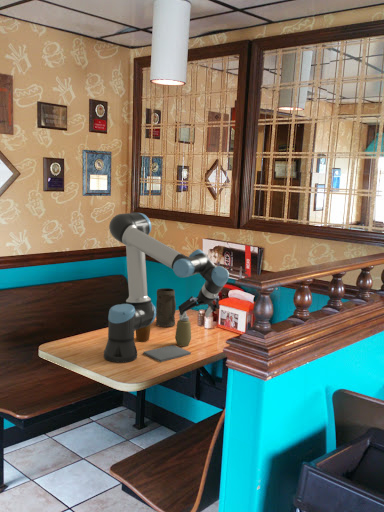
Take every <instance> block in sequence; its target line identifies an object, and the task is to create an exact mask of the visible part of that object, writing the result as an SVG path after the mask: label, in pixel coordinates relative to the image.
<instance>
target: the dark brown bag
mask: <svg viewBox="0 0 384 512" xmlns="http://www.w3.org/2000/svg"><path fill="white" fill-rule="evenodd" d="M175 294H176V292H175V289H173V288H168V287H165V288H164V287H162V288H158V289H156V303H155V304H156V306H155V308H156V317H155V320H156V321H155V325H156V326H158V327H162V328H163V327H164V328H165V327H166V328H168V327H174V326H175V325H176V318H175V314H176V308H177V306H176V305H177V303H176V295H175Z"/></svg>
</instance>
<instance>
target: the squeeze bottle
mask: <svg viewBox="0 0 384 512" xmlns="http://www.w3.org/2000/svg"><path fill="white" fill-rule="evenodd" d="M191 327H192V325H191V321H190V317H189V316H188V315H187V313H186V314H185V315H184V317H183V318H182V319H181V320H180V317H179V319H178V320H177V323H176V329H175V335H174V339H175V343H176V346H178V347H179V346H180V347H187V346H189V345H190V343H191V340H192V328H191Z"/></svg>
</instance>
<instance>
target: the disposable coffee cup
mask: <svg viewBox="0 0 384 512" xmlns="http://www.w3.org/2000/svg"><path fill="white" fill-rule="evenodd" d="M152 324H153V322H152V323H151V324H150V325H148V326H147V327H144V328H140V329H138V330H135V339H136V341H138V342H139V343H140V342H142V343H144V342H149V341H150V336H151V335H150V334H151V328H152Z"/></svg>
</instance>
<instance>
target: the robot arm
mask: <svg viewBox="0 0 384 512" xmlns="http://www.w3.org/2000/svg"><path fill="white" fill-rule="evenodd" d="M151 232H152V222H151V220H150V218H149V217H148V216H147V215H146V214H145V213H141V212H130V213H129V212H128V213H119V214H116V215H114V216H113V217H112V219H111V220H110V222H109V233H110V235H111V236H112V237H113V238H114V239H115V240H117V241H118V242H120V243H121V244H123V245H124V246H125V248H126V249H125V250H126V251H125V252H126V268H127V284H128V285H127V286H128V298H126V300H125V302H126V303H121V304H115V305H112V306H111V307H110V308H109V311H108V317H107V319H108V320H107V321H108V322H107V323H108V325H107V331H108V332H107V343H106V344H105V349H104V350H103V358H104V360H106V361H109V362H111V363H120V364H121V363H129V362H133V361H135V360H137V358H138V351H137V347H136V343H135V332H136V330H138V329H140V328H144V327H147V326H148V325H150V324H151V323H152V324H153V323H154V321H155V320H156V306H155V305H154V304H153V302H152V299H151V297H149V296H148V283H147V280H148V279H147V266H146V255H147V256H149V257H151V258H152V259H154V260H155V261H157V262H159V263H161V264H162V265H165V266H166V267H168V268H170V269H172V270H173V273H174V275H175V276H177V277H178V278H188V277H191V276H194V275H197V274H198V275H200V276H201V277H202V278H203V279H204V280H205V282H204V284H203V285H202V287H201V288H200V290H199V292H198V296H197V295H196V297H194V296H193V295H191V296H190V297H189V298H188V299H187V300H185V301H184V302H183V303H181V304H180V305H178V312H179V314H178V316H179V317H180V320H181V319H182V318H183V317H184V315H185V314H187V312H188V311H189V310H191V309H193V308H195V307H196V308H197V307H199V306H204V305H205V306H206V305H207V306H209V307H208V308H207V309H206V311H205V316H206V318H209V317H210V316H211V314H212V313H213V312H216V311H217V310H219V309H220V303H219V301H220V298H219V297H220V296H219V293H220V292H221V291H222V289H223V288H224V287H225V285H226V284H227V283H228V280H229V278H230V273H229V270H228V269H227V268H225V267H223V266H220V265H218V266H217V265H216V264H215V263H214V262H213V261H212V259H210V257H209V256H208V255H207V254H206V253H205V252H204V251H203V250H202V249H200V248H198V249H196V250H193V251H192V252H191V253H190V254H189V256H186V255H185V254H184V253H181V252H179V251H178V250H176V249H175V248H172V247H170V246H168V245H166V244H165V243H164V242H161V241H160V240H157V239H156V238H155V237H152V236H151V235H150V233H151ZM152 324H151V325H152Z"/></svg>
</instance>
